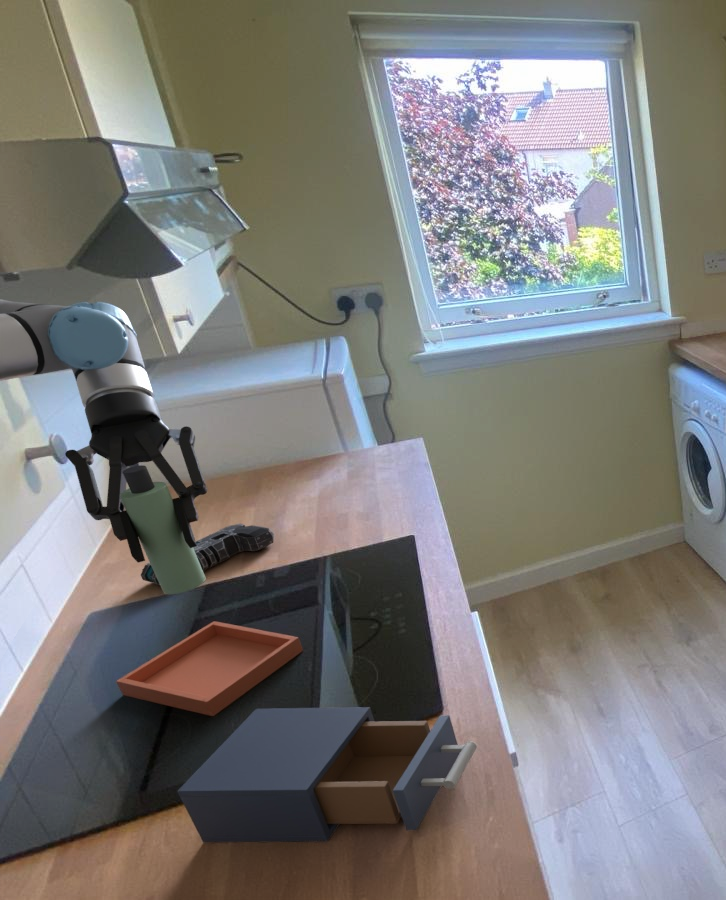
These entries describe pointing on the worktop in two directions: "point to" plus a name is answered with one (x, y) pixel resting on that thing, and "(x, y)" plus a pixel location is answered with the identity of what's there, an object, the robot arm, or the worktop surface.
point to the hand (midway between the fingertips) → (165, 550)
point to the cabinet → (270, 776)
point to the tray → (210, 667)
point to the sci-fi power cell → (223, 546)
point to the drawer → (392, 772)
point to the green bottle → (160, 532)
